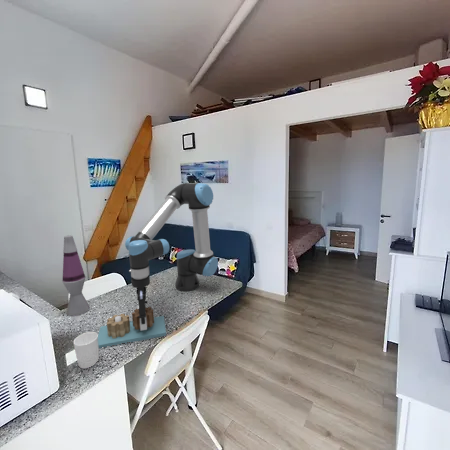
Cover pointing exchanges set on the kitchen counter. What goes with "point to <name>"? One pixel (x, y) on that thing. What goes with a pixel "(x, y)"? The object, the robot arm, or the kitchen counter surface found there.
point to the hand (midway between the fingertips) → (143, 323)
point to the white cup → (87, 349)
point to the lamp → (73, 278)
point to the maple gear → (118, 326)
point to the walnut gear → (148, 317)
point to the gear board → (132, 333)
